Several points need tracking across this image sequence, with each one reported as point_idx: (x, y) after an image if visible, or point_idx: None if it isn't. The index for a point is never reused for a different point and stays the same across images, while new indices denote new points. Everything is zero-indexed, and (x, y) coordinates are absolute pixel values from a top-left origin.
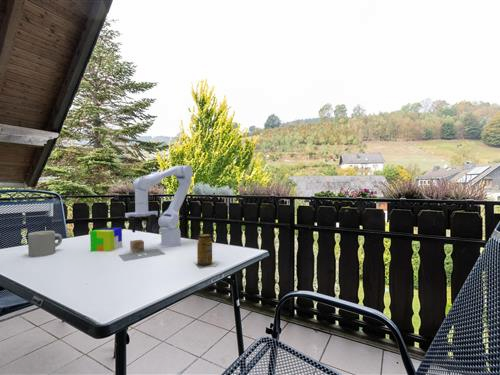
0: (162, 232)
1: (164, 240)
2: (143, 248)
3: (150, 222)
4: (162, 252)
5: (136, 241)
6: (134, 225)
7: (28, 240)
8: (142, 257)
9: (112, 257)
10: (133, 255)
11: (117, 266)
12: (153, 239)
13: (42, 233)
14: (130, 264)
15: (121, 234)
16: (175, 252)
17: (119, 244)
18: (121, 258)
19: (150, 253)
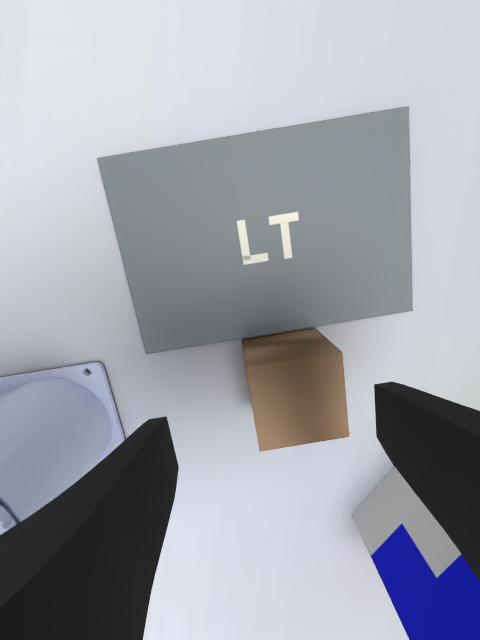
0: (35, 485)
1: (65, 415)
2: (246, 346)
3: (112, 534)
4: (120, 226)
5: (305, 394)
6: (468, 425)
7: None
8: (275, 152)
9: (447, 282)
10: (325, 246)
11: (465, 9)
12: (150, 614)
13: None
14: (377, 13)
15: (401, 609)
16: (23, 198)
17: (381, 514)
18: (409, 203)
19: (208, 241)
